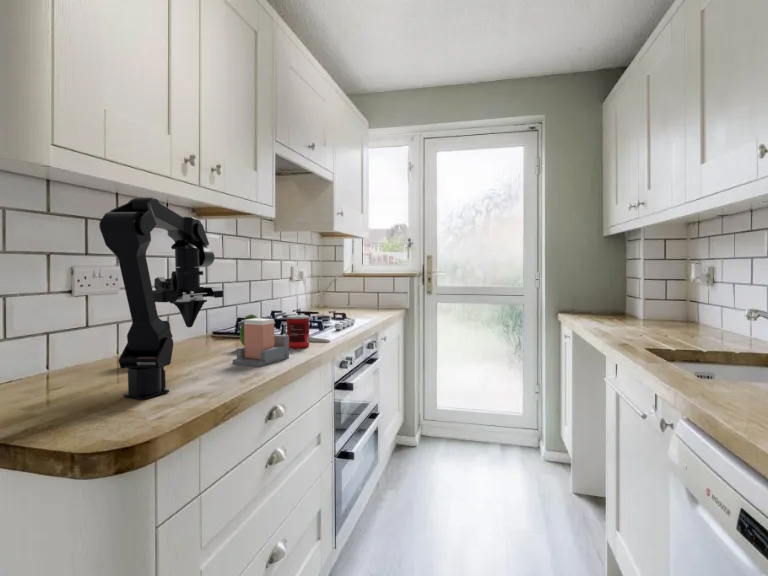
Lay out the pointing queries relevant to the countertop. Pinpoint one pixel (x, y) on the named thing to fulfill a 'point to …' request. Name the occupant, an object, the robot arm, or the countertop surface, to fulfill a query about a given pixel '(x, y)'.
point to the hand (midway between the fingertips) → (189, 327)
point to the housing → (266, 353)
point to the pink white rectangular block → (258, 336)
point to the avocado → (243, 327)
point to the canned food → (298, 331)
